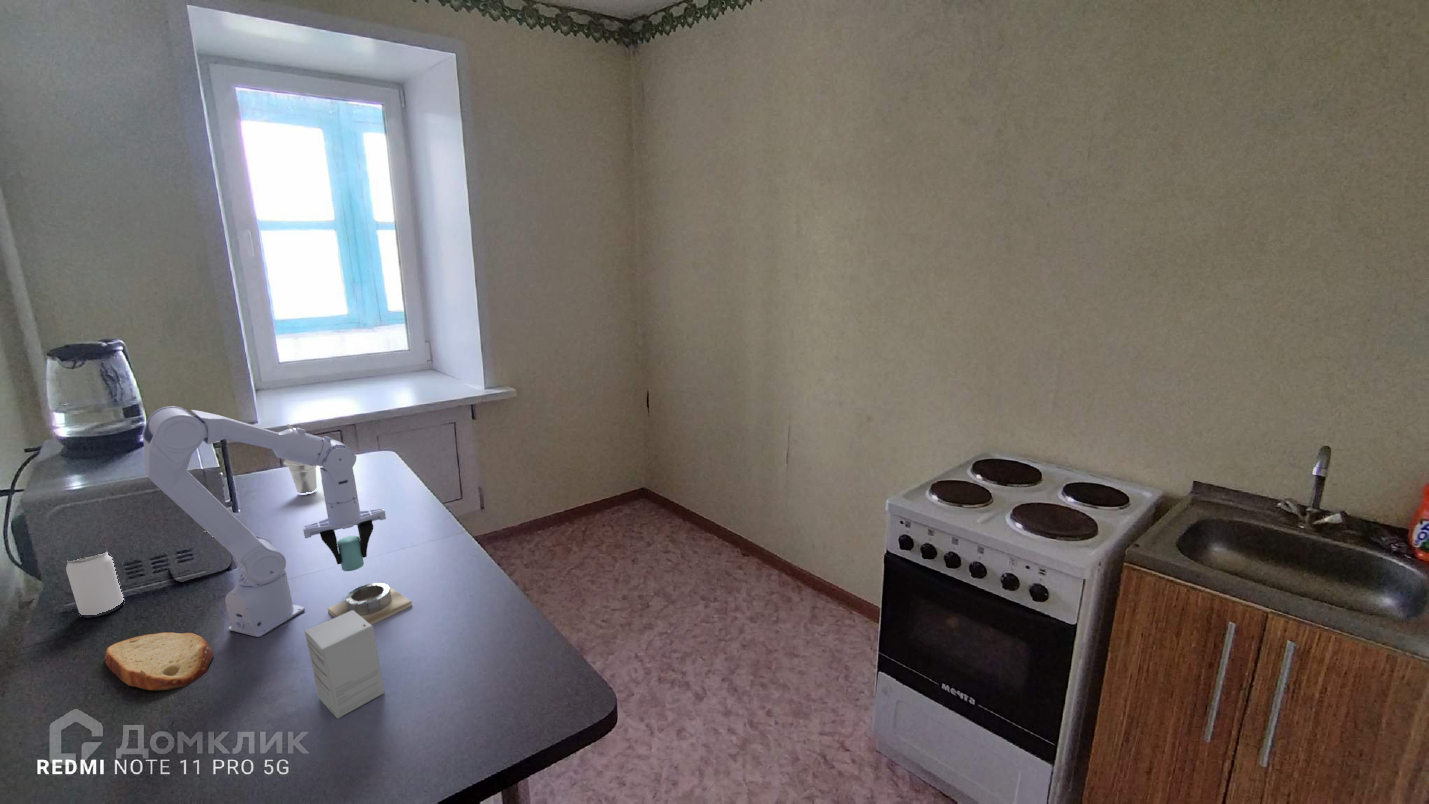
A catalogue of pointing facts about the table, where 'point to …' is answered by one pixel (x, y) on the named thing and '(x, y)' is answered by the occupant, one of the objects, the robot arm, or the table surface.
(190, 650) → the slice of bread
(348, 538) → the teal cylinder
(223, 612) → the table surface
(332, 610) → the dock plate
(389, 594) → the socket collar
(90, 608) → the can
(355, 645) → the supplement box
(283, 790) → the table surface
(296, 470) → the cup with straw
